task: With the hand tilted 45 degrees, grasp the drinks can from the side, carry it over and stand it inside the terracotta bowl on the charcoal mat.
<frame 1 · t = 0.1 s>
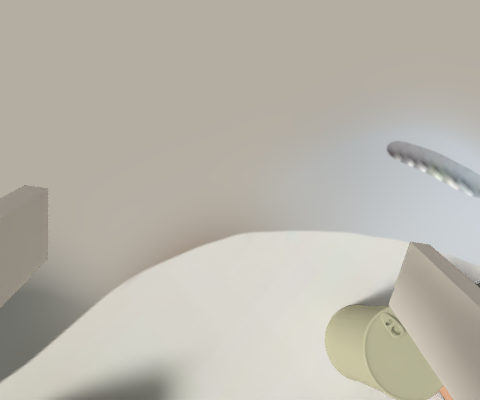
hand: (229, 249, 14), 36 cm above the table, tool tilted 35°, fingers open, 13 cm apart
can: (358, 341, 48), on the table
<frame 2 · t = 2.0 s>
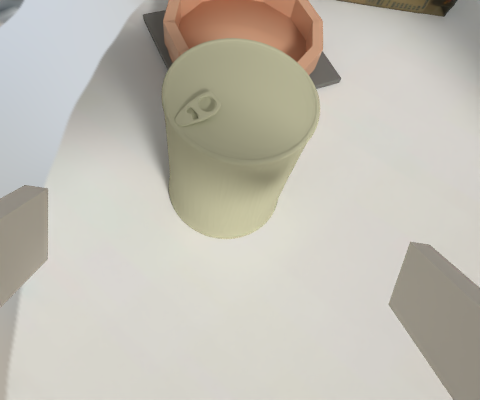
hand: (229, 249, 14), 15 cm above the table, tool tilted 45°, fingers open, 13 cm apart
can: (224, 188, 32), on the table
mat: (241, 50, 39), on the table
bowl: (241, 46, 38), resting on mat
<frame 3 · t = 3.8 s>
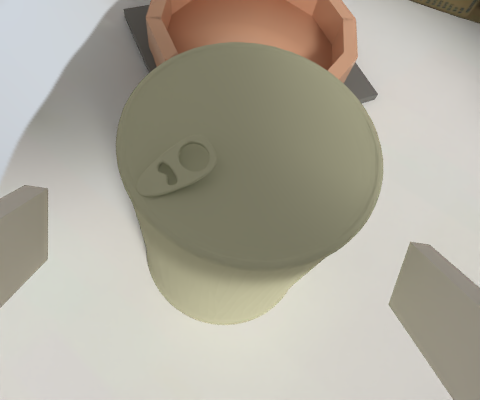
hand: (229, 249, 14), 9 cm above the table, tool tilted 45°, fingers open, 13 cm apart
can: (223, 247, 23), on the table
mat: (248, 57, 30), on the table
bowl: (249, 51, 29), resting on mat
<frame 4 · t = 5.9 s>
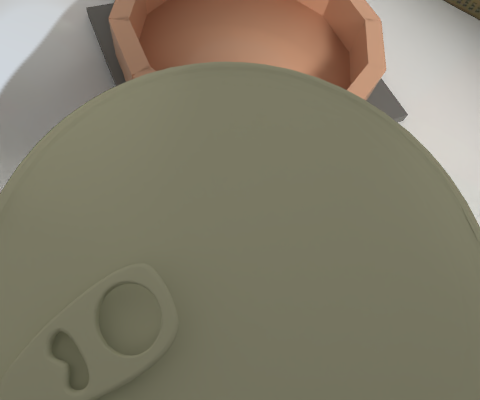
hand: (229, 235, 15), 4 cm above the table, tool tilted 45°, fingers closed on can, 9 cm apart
can: (212, 332, 17), on the table, touching gripper
mat: (244, 68, 24), on the table
bowl: (246, 60, 23), resting on mat
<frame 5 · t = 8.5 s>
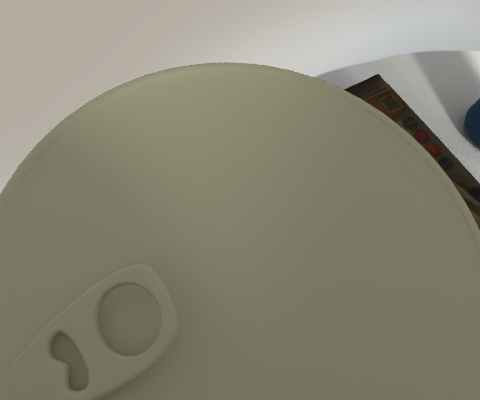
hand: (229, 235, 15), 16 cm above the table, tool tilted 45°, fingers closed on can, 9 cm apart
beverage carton: (383, 196, 37), on the table
can: (211, 332, 17), point 12 cm above the table, touching gripper
when the fingers open (6 cm above the table, at t = 11.4 s): can drops 1 cm, resting on bowl.
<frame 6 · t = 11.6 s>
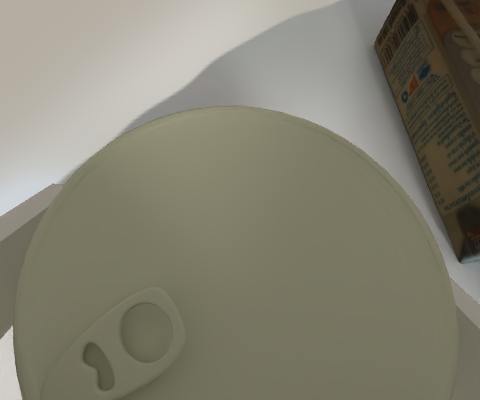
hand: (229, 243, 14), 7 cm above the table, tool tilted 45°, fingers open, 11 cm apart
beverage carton: (450, 140, 28), on the table
can: (212, 337, 18), point 1 cm above the table, touching bowl
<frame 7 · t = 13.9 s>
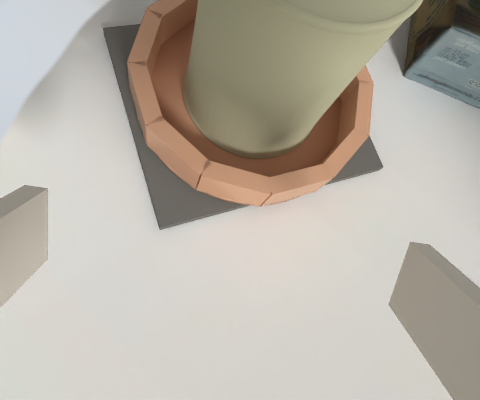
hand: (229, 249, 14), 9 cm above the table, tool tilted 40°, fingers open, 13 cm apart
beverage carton: (446, 15, 34), on the table
can: (251, 97, 25), point 1 cm above the table, touching bowl
mat: (246, 104, 26), on the table
bowl: (248, 100, 25), resting on mat
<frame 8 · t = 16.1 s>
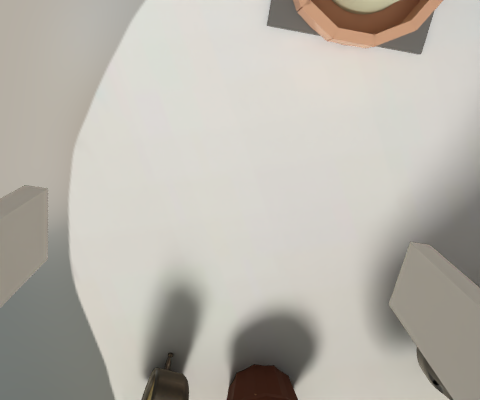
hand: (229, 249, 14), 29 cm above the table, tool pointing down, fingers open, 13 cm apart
muffin: (260, 387, 53), on the table
alarm clock: (169, 377, 52), on the table
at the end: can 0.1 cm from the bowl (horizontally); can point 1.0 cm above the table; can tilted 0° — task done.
